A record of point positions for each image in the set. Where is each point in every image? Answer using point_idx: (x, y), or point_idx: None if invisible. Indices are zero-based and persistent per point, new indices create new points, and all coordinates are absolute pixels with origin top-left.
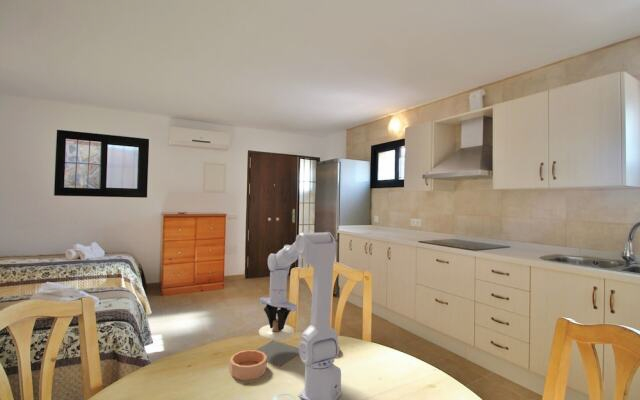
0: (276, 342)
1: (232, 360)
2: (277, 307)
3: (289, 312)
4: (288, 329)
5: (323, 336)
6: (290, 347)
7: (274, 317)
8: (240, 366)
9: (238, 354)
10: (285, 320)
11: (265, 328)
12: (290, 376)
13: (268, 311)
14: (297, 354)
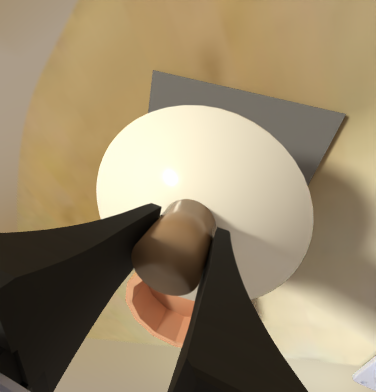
0: (178, 87)
1: (143, 322)
2: (43, 280)
3: (284, 364)
4: (258, 188)
5: None
6: (261, 114)
7: (122, 248)
8: (176, 345)
9: (134, 289)
10: (236, 274)
11: (120, 209)
12: (311, 300)
13: (59, 371)
14: (312, 172)
